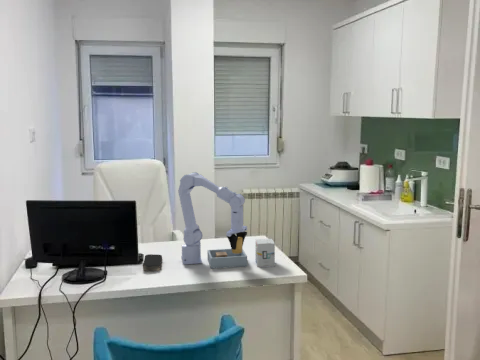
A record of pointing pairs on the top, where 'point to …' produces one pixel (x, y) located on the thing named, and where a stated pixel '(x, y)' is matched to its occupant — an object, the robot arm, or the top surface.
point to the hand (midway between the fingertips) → (236, 247)
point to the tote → (226, 259)
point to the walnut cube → (221, 254)
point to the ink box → (265, 253)
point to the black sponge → (152, 262)
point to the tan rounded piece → (238, 246)
